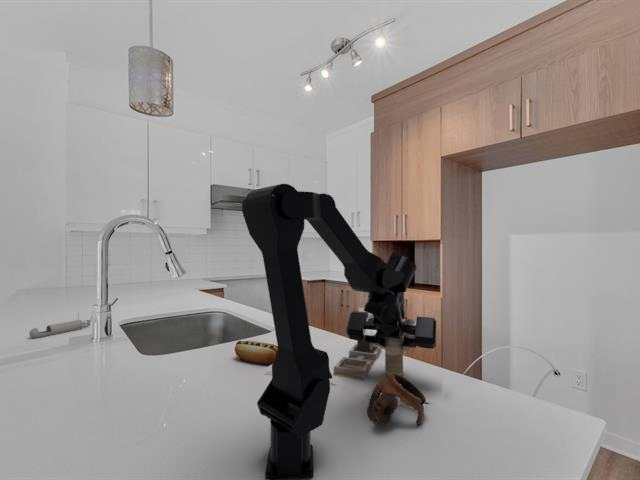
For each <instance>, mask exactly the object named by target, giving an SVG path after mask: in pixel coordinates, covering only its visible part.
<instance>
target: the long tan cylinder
mask: <svg viewBox="0 0 640 480" xmlns="http://www.w3.org/2000/svg"><path fill="white" fill-rule="evenodd" d="M365 305H366V304H365ZM365 305H363V304H362V305H358V307H357V308H358V309H357V311H359V312H365V311H364V308H365ZM370 318H374V317H373V314H371V313H368V317H367V319H366V321H368V320H369V319H370ZM356 341H357V351H360V352H367V353H373V345H374V344H372V343H369V342H366V341H365V335H364V339H363V340H356Z"/></svg>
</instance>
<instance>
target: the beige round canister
mask: <svg viewBox="0 0 640 480" xmlns="http://www.w3.org/2000/svg"><path fill="white" fill-rule="evenodd" d="M384 362H385V363H384V369H385V370H384V372H385V374H384V375H385V376H386V377H387V379H389V377H390V375H391V374H397V375H399V376H401V377H403V378H404V351H403V337H400V339H397V338H388V337H385V348H384Z"/></svg>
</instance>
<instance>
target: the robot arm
mask: <svg viewBox="0 0 640 480" xmlns="http://www.w3.org/2000/svg"><path fill="white" fill-rule="evenodd" d="M241 209H242V211H241V213H242V216H243V218H244V221H245V222H244V223H245V225H246V227H247V231H248V233H249V236H250V237H251V238H252V241H254V243H255V245H257V247H258V249H259V250H260V253H261V254H262V259H263V264H264V271H265V278H266V283H267V290H268V295H269V300H270V301H269V302H270V307H271V314H272V318H273V319H272V320H273V325H274V326H273V327H274V331H275V332H274V333H275V338H276V344H277V346H278V350H277V353H276V356H275V358H274V361H273V363H272V365H271V375H272V376H271V378H272V379H271V380H270V382H269V383H268V385H267V386H266V388H265V389H264V391H263V392H262V394H261V396H260V397H259V399H258V400H257V403H256V405H257V407H258V410H259V414H260V415H261V416H265V417H266V418H268V419H269V420H270V435H269V436H270V439H269V440H270V444H269V445H270V446H269V451H268V455H267V461H266V466H265V472H264V477H265V479H266V480H283V479H286V480H287V479H311V478H314V474H315V472H314V469H315V468H314V445H313V444H311V432H312V431H313V430H315V429H318V428H319V427H321V426H322V425H323V422H324V418H325V414H326V410H327V406H328V401H329V396H330V394H331V393H330V392H331V382H330V380H332V379H333V374H332V373H331V369H330V358H329V354H328V352H327V351H325V350H321V349H318V348H315V346H314V345H313V343H312V337H311V331H310V323H309V317H308V311H307V303H306V298H305V291H304V284H303V278H302V272H301V265H300V264H301V263H300V257H299V252H298V251H299V249H298V248H299V244H300V240H301V238H302V235H303V233H304V230H305V220H306V221H307V222H308V223H309V224H310V225H311V227H312V228H313V229H314V230H315V232H316V233H317V234H318V236H319V237H320V238H321V240H323V241H324V243H325V244H326V245H327V247H328V248H329V249H330V251H332V252H333V254H334V255H335V256H336V258H337V259H338V260H339V261H340V262H341V265H342V266H343V268H344V269H343V271H344V272H343V275H344V277H345V279H346V280H347V282H348V285H349V286H350V288H351V289H352V290H353V291H355V292H360V293H367V294H368V295H367V302H366V303H365V308H364V311H365V312H359V311H358V310H353V311H351V313H350V314H349V317H348V322H347V326H346V336H347V337H348V339H349V340H356V341H357V340H363V339H364V335H365V341H366V342H369V343H372V344H373V345H374V346H380V347H381V348H383V349H385V337H388V338H397V339H400V337H403V352H406V351H407V350H409V349H411V348H417V347H419V348H423V349H432V350H434V349H435V348H436V347H437V320H436V319H435V318H434V317H430V316H419V315H418V316H416V319H410V318H409V319H406V318H405V317H406V313H405V293H406V292H407V290H408V288H409V285H410V283H411V282H412V279H413V277H414V275H415V273H416V271H417V264H416V263H415V262H413V260H412V259H410V258H408V257H406V256H404V255H403V254H402V252H392V253H391V254H390V256H389V258H388V260H387V262H386V261H385V260H384V259H382V258H381V256H379V255H377V254H374V253H373V252H370V251H369V250H368V249H367V248H366V247H365V246H364V244H363V243H362V240H360V239H359V237H358V236H357V234H356V233H355V232H354V230H353V229H352V227H351V225H350V224H349V223H348V222H347V220H346V219H345V217H344V216H343V215H342V213H341V212H340V210H338V208H337V205H336V201H335V199H334V197H333V196H332V195H330V194H327V193H325V192H324V193H317V192H314V191H302V190H301V191H299V190H297V189H296V188H295V187H294V186H292V185H291V184H289V183H280V184H275V185H271V186H270V185H269V186H265V187H261V188H257V189H253V190H251V191H249V193H247V195H246V197H245V198H244V199H243V200H242V205H241ZM368 313H371V314H373V318H370V319H369V320H368V321H366V319H367V317H368Z"/></svg>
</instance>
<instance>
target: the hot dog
mask: <svg viewBox="0 0 640 480" xmlns="http://www.w3.org/2000/svg"><path fill="white" fill-rule="evenodd" d="M277 350H278V345H276V344H272V343H268V342H261V341H254V340H244V341H243V340H239V341H237V342H236V343H235V347H234V353H235V355H236V356H237V357H238V358H239V359H240V360H243V361H246V362H249V363H254V364H261V365H262V364H263V365H271V364H272V363H273V361H274V358H275V356H276V353H277Z"/></svg>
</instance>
